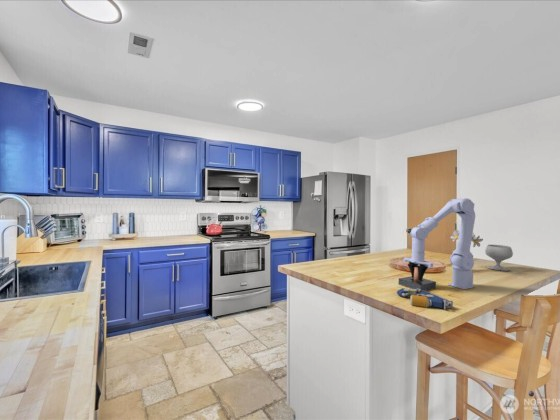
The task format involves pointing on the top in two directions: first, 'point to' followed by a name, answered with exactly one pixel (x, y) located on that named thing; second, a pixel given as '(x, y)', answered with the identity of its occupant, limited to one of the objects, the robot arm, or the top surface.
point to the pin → (416, 274)
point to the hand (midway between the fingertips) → (417, 278)
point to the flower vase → (474, 239)
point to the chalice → (498, 255)
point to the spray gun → (424, 298)
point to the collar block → (417, 283)
